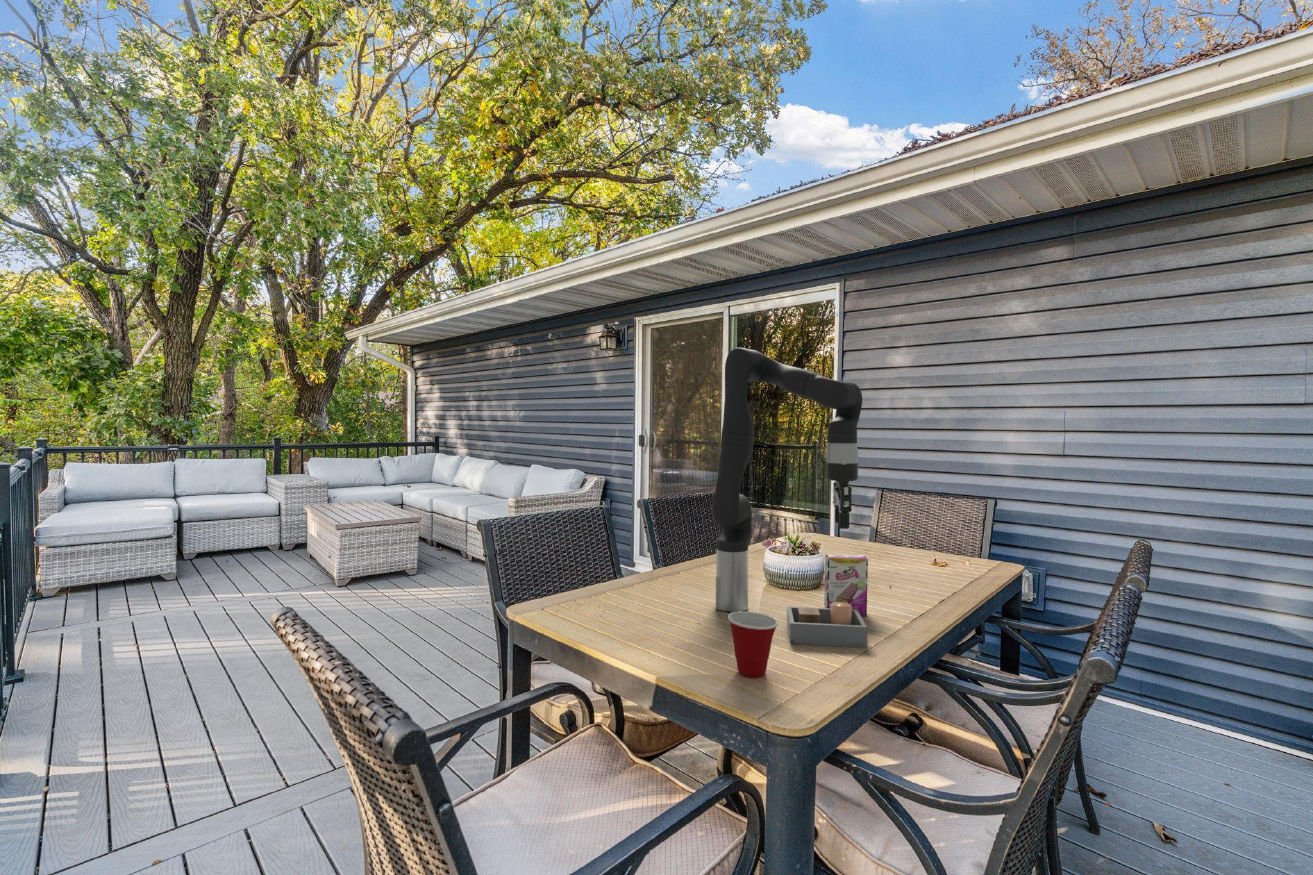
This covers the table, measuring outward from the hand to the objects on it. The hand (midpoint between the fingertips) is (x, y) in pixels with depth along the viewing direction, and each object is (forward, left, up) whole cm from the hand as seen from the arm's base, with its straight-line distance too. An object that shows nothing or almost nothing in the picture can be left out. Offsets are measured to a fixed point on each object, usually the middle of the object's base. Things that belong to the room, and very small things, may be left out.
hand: (841, 525), depth 151 cm
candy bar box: (+4, +20, -28) cm, 35 cm away
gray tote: (-4, 0, -28) cm, 28 cm away
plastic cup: (-22, -26, -28) cm, 44 cm away
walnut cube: (-8, 0, -27) cm, 28 cm away
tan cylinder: (0, 0, -27) cm, 27 cm away
